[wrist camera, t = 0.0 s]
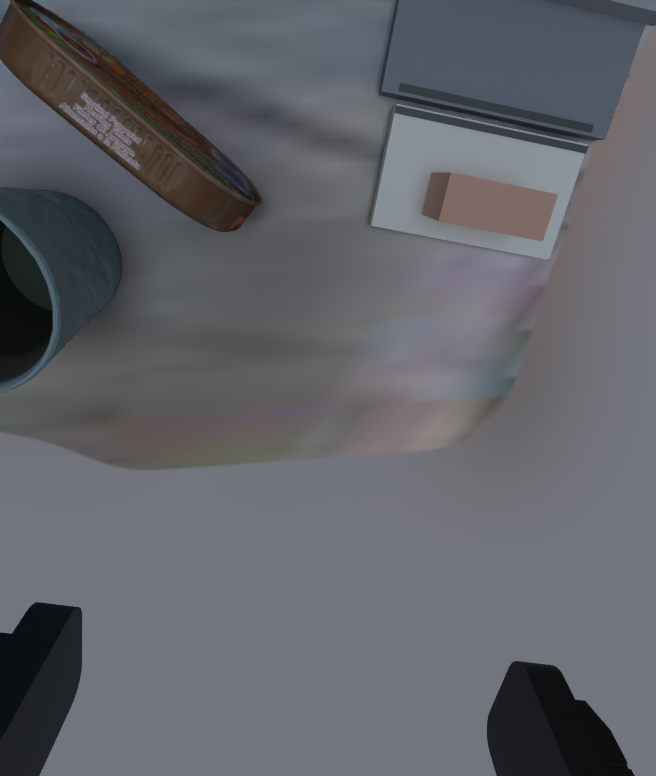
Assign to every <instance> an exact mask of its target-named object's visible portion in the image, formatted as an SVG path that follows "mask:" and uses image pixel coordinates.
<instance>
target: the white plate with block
mask: <svg viewBox="0 0 656 776" xmlns="http://www.w3.org/2000/svg"><path fill="white" fill-rule="evenodd" d="M587 149H588V145H587V144H583V143H578V142H573V141H569V140H564V139H559V138H554V137H550V136H545V135H540V134H536V133H531V132H526V131H522V130H517V129H512V128H508V127H503V126H498V125H494V124H489V123H484V122H480V121H475V120H470V119H466V118H461V117H456V116H452V115H447V114H442V113H438V112H433V111H428V110H424V109H419V108H414V107H410V106H405V105H400V104H395V105H394V106H393V109H392V114H391V119H390V124H389V129H388V133H387V138H386V143H385V148H384V153H383V158H382V163H381V168H380V172H379V177H378V182H377V187H376V192H375V197H374V202H373V207H372V211H371V216H370V221H369V224H370V225H371V226H375V227H380V228H385V229H390V230H396V231H401V232H406V233H411V234H416V235H422V236H427V237H432V238H437V239H442V240H448V241H453V242H458V243H463V244H468V245H474V246H479V247H484V248H489V249H494V250H500V251H505V252H510V253H515V254H520V255H526V256H531V257H536V258H541V259H546V260H549V259H550V256H551V253H552V250H553V247H554V244H555V241H556V238H557V235H558V232H559V229H560V226H561V223H562V220H563V217H564V214H565V211H566V209H567V206H568V203H569V200H570V197H571V194H572V191H573V188H574V185H575V182H576V179H577V176H578V173H579V170H580V167H581V164H582V161H583V158H584V155H585V154H586V152H587Z"/></svg>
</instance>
